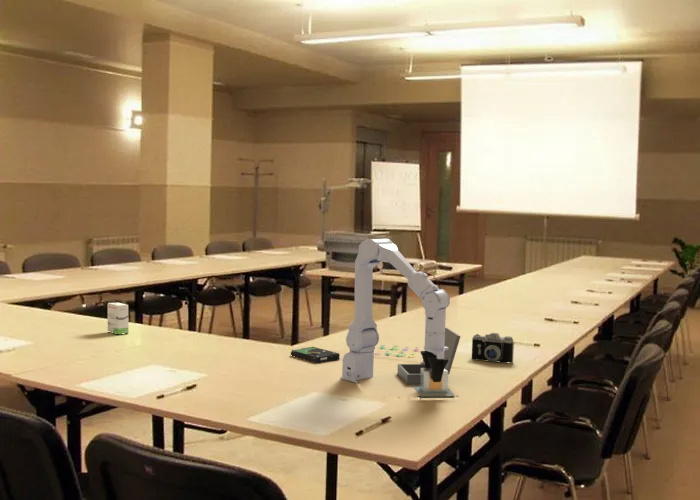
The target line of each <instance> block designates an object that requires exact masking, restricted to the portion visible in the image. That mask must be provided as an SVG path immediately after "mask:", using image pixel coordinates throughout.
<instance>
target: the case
mask: <svg viewBox="0 0 700 500" xmlns="http://www.w3.org/2000/svg"><path fill="white" fill-rule="evenodd" d="M460 340H461V335H459V334H458V333H456V332H455V331H453V330H452V329H450V328H448V327H445V345H444V346H446V347H448V350H445V351H444V358H448V359H449V360H448V363H447V364H446V366H445V369H446V370H447V371H448V375H450V373H451V369H452V366H453V363H454V359H455V355H456V353H457V349H458V346H459V343H460ZM422 360H423V359H422ZM421 368H425V365H424V360H423V361H420V363H398V364H397V375H398V376H399V377H400V378H401V379H402V380H403V382H404V383H405V384H406V385H408V386H409V385H412V386H417V385H420V374H421Z"/></svg>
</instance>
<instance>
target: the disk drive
mask: <svg viewBox="0 0 700 500" xmlns="http://www.w3.org/2000/svg"><path fill="white" fill-rule="evenodd" d="M291 355H292V356H291ZM290 356H291V357H293V356H295V357H294V358H296V357H298V358H297V359H300V358H301V359H300V360H303V359H305V360H304V361H307V360H308V362H310V361H311V363H313V364H323V363H328V362H335V361H340V353H338V352H335V351H332V350H328V349H327V350H326V349H323V348H319V347H315V346H308V347H302V348H299V349H298V348H297V349H291V352H290ZM322 362H323V363H322Z"/></svg>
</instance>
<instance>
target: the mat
mask: <svg viewBox="0 0 700 500" xmlns="http://www.w3.org/2000/svg"><path fill="white" fill-rule="evenodd" d="M412 388H413V389H414V390H415V391H416V392H417V393H418V394H419V395H418V396H417V397H418V398H419V399H455V394H454V392H452V391H451V390H450V389H449V388H448V387H447V392H423V391H422V390H421V389H420V385H412Z"/></svg>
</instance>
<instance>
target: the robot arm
mask: <svg viewBox="0 0 700 500" xmlns="http://www.w3.org/2000/svg"><path fill="white" fill-rule="evenodd" d="M381 262H385V263H389V264H390V265H392V267H393V268H394V269H396V270H397V271H398V272H399V273H400V274H401V275H403V277H405V278H406V279H407V285H408V287H409V288H410V289H411V290H412V291H413V292H414V293H415V294H416V296H418V297H419V298H420V300H421V305H422V307H423V308H424V315H425V319H424V320H425V321H424V322H425V325H424V346H423V350H419V352H420V355H421V356H422V360H424V365H425V368H431V370H432V379H433V382H441V379H442V375H443V371H444V368H445V366H446V364H447V363H448V360H449V359H448V358H444V351H445V350H448V347H446V346H444V345H445V328H446V319H447V317H446V315H447V313H446V312H447V308H448V307H449V306H450V303H451V299H450V296H449V293H447V291H446V290H445V289H442V288H439V286H438V284H434V282H432V280H431V279H430V278H428V274H427V273H426V272H423V271H416V269H415V268H414V267H413V266H412V265H411V264H410V263H409V261H408V260H407V259H406V257H404V255H403V254H402V253H401V252H400V251H399V248H398V247H397V245H396V244H395V243H393V241H392V240H391V239H389V238H388V237H387V238H385V237H384V238H368V239H364V240H363V241H362V242H361V243H360V244H359V245H358V253H357V256H356V258H355V261H354V319H353V320H352V322H351V323H350V324H349V325H348V331H347V335H346V337H345V343H346V346H347V347H348V348H349V352H345V354H344V355H343V357H342V368H341V369H342V371H341V372H342V373H341V374H342V375H341V376H340V377H339V378H340V379H342V380H345V381H349V382H353V383H355V384H360V381H359V380H363V379H371V378H373V377H374V363H375V362H374V359H375V350H376V346H378V344H379V341H380V335H379V332H378V324H377V323H376V322H375V321H374V319H373V283H374V282H373V277H374V275H373V269H374V268H375V267H376V266H378V264H380V263H381Z"/></svg>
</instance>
